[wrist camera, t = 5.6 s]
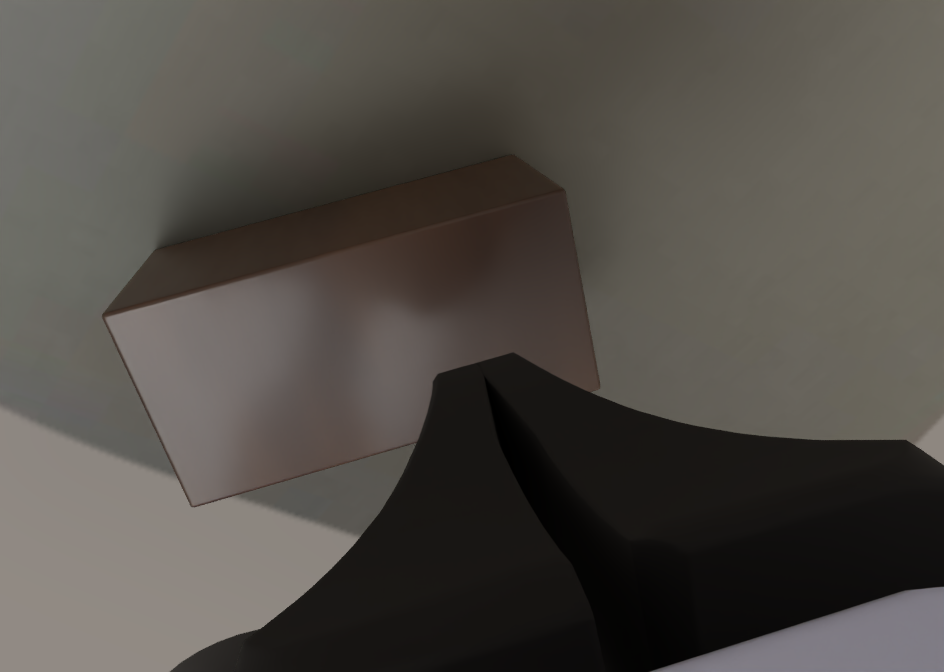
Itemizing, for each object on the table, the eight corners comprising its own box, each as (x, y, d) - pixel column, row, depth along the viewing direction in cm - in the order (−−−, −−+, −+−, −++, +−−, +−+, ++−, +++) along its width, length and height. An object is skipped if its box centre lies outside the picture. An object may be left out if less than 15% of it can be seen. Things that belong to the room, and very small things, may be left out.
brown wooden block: (602, 390, 16) (191, 509, 16) (547, 317, 20) (220, 409, 20) (566, 188, 14) (99, 315, 14) (514, 153, 18) (152, 249, 18)
